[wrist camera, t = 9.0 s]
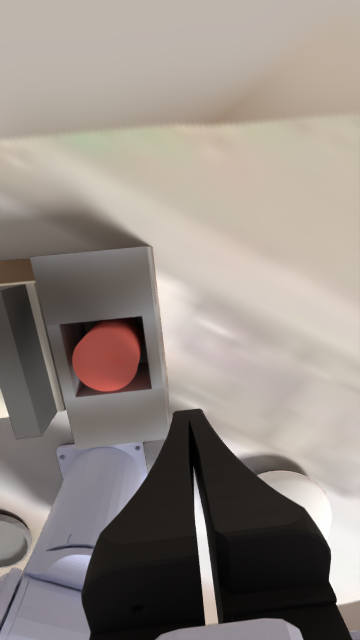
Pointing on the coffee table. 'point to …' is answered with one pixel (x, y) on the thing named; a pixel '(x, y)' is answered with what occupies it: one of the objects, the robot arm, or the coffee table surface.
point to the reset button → (109, 354)
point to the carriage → (26, 362)
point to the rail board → (80, 317)
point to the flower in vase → (302, 495)
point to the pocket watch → (13, 541)
